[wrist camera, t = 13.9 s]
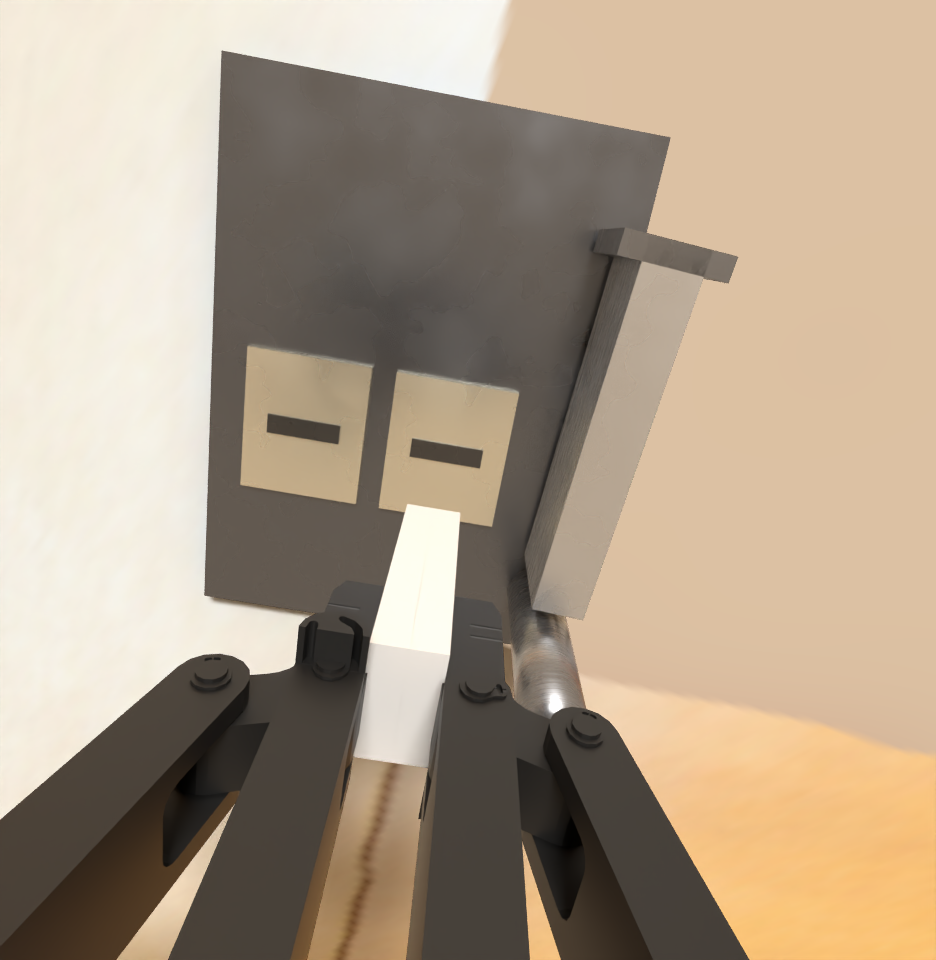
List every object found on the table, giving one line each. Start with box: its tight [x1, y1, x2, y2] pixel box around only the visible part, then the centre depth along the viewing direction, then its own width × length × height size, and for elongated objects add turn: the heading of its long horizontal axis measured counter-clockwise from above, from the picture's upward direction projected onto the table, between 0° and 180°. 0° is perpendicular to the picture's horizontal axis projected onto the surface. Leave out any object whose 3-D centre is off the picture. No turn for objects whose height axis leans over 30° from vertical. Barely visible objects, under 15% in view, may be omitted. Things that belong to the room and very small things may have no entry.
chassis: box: [204, 51, 670, 719], centre depth 23 cm, size 16×22×10 cm
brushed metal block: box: [524, 227, 738, 620], centre depth 24 cm, size 14×4×4 cm, turn 167°
